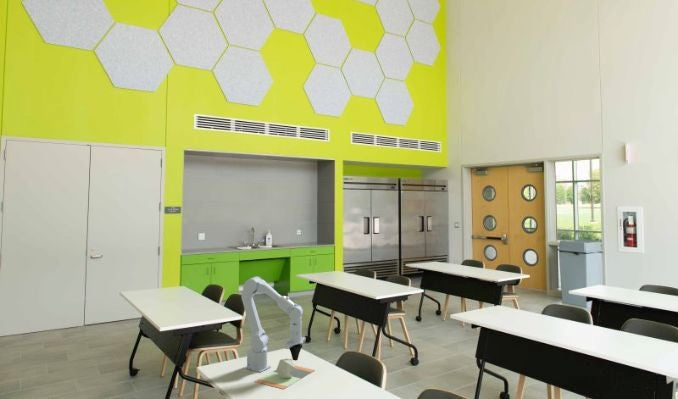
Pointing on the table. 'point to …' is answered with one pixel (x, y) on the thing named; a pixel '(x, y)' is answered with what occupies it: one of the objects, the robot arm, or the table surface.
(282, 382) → the mat
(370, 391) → the table surface
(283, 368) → the die
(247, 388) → the table surface
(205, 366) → the table surface
